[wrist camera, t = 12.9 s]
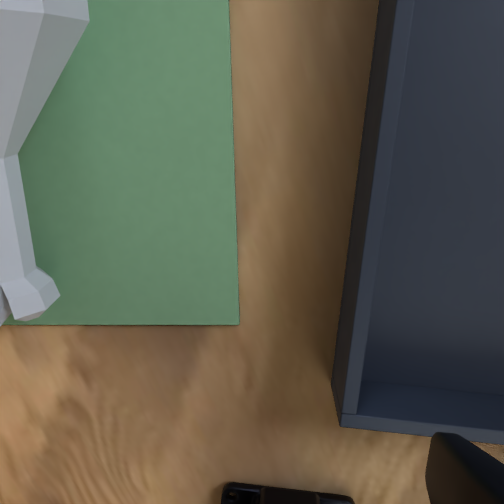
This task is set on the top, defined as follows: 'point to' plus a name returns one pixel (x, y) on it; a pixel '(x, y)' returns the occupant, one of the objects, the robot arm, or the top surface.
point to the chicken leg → (17, 129)
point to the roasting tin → (428, 229)
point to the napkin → (138, 170)
